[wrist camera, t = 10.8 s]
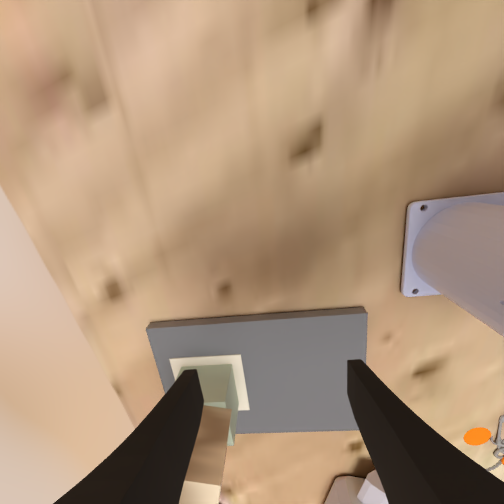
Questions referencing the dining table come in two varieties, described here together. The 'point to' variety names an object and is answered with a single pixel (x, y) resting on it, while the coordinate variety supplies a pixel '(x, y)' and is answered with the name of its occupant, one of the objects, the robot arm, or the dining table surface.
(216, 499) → the maple block
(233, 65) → the dining table surface
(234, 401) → the sage base block
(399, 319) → the dining table surface
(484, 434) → the key chain
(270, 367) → the board
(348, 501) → the charger
